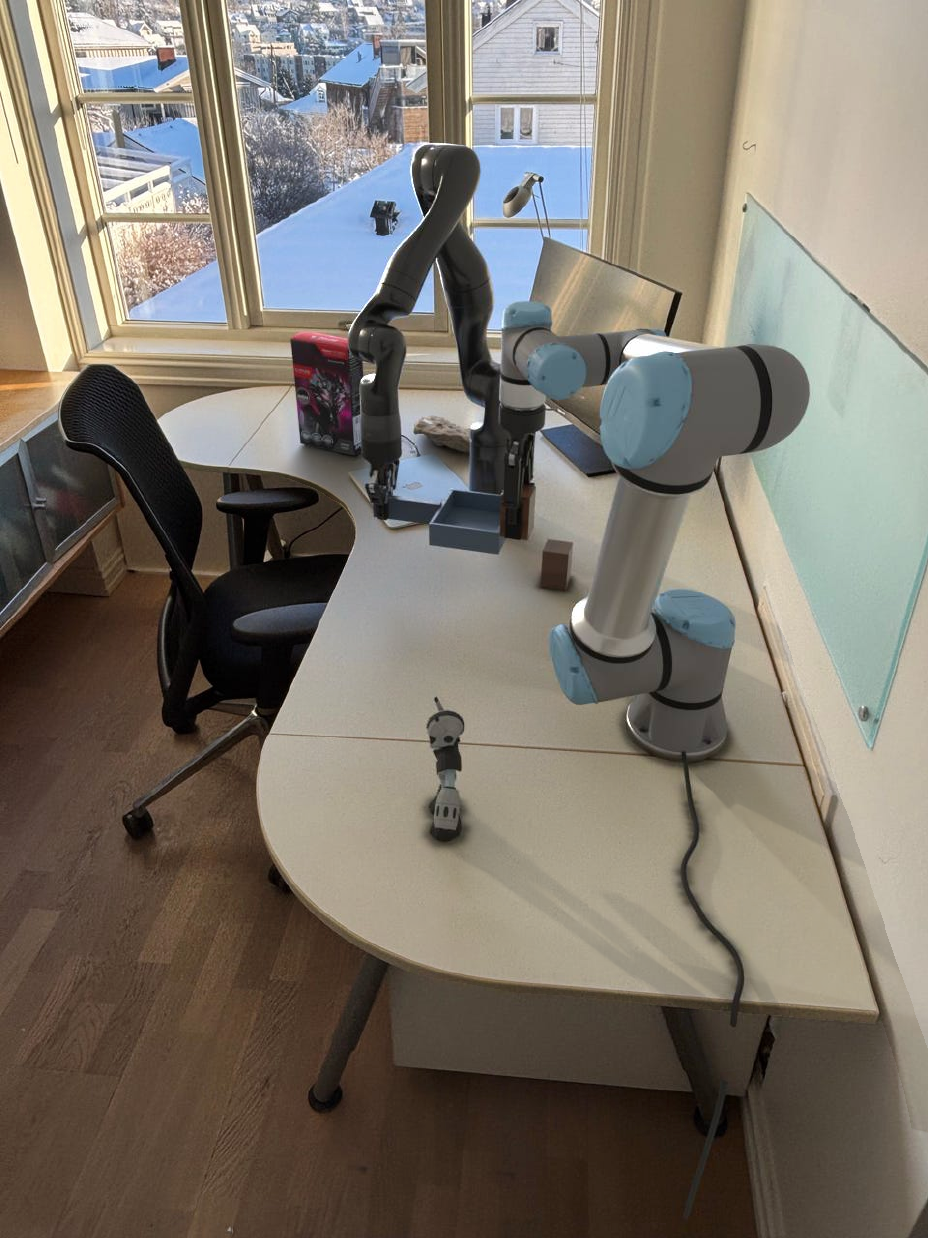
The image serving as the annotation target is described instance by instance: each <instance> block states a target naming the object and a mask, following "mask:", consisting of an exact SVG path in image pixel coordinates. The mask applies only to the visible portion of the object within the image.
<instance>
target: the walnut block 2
mask: <svg viewBox="0 0 928 1238" xmlns="http://www.w3.org/2000/svg"><path fill="white" fill-rule="evenodd" d="M573 549H574V542H573V541H567V540H566V541H565V540H559V539H551V538H547V540H546V541H545V544H544V547H543V549H542V553H541V554H542V555H541V570H540V571H541V572H540V584H539V585H540V588H545V589H550V590H557V591H558V590H559V591H564V592H565V591H566V592H567V589H568V586H569V583H570V579H571V575H572V574H571V573H572V561H573V551H574V550H573Z"/></svg>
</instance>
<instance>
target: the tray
mask: <svg viewBox="0 0 928 1238" xmlns="http://www.w3.org/2000/svg"><path fill="white" fill-rule="evenodd" d="M383 496H384V494H383ZM500 507H501V495H497V494H489V493H481V492H473V491H469V490H465V489H458V488H457V489H456V488H450V490H449V492H448V493H447V494H446V497H445V498H444V500H443V501H442V500H441V501H440V500H433V499H432V500H431V499H425V498H416V497H409V496H401V495H394V494H393V495H388V515H389V518H388V519H387V520H392V521H401V522H408V523H415V524H422V525H428V540H429V541H428V545H429V546H432V547H433V546H434V547H440V548H445V549H455V550H462V551H467V552H476V553H482V554H489V555H497V556H499V554H500V552H501V550H502V549H503V547H504V544H505V542H506V540H507V538H504V537H501V536H499V534H500ZM372 512H373V513H372V515H373V518H377V512H376V504H375V503H372Z"/></svg>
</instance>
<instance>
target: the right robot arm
mask: <svg viewBox="0 0 928 1238" xmlns="http://www.w3.org/2000/svg"><path fill="white" fill-rule="evenodd" d="M552 316H553V315H552V309H551V308H550V306H548V304H545V303H542V302H540V301H532V300H531V301H530V300H524V301H514V302H512V303H509V304H507V305H505V307H504V309H503V312H502V321H501V327H500V331H501V340H500V342H501V343H500V346H501V347H500V364H501V374H500V390H499V400H500V402H501V403H500V405H499V425H500V427H501V428H502V429H504V430H506V431H508V432H509V433H510V434H511V435H510V438H508V439H507V444H506V448H507V453H505V455H504V465H505V470H504V493H503V501H502V502H501V505H503V507H506V513H505V537H504V538H506V539H510V540H516V541H521V522H522V504H521V497H522V487H523V485H530V486H536V482H532V481H533V479H534V461H535V445H536V443H535V442H536V435H537V434H536V433H537V432H540V431H541V430H543V428H544V427H545V424H546V411H547V406H546V404H545V403H546V402H547V398H548V399H551V400H555V401H562V400H567V399H569V398H570V397H572V396H574V394H575V395H576V394H577V393H578V392H579V391H580V390H581V388H590V387H591V388H592V387H597V386H605V385H606V386H605V388H604V391H603V393H602V398H601V402H600V408H599V419H601V424H600V426H599V434H600V435H599V436H600V441H601V445H602V448H603V451H604V453H605V455H606V456H607V458H608V460H609V461H610V462H611V465H612V467H613V470H614V471H615V472H616V474H617V475H618V478H617V482H616V486H615V490H614V493H613V498H612V502H611V506H610V509H609V512H608V517H607V520H606V525H605V529H604V533H603V536H602V539H601V540H602V541H601V543H600V549H599V551H598V556H597V560H596V564H595V568H594V572H593V574H592V575H593V576H592V580H591V584H590V587H589V590H588V594H587V596H586V597H584V598H582V599H581V600H580V601H578V603H576V604H575V607H573V610H572V612H571V616H570V621H569V623H565V624H564V623H560V624H559V625H555V626H554V627H552V628H551V629H550V631H549V632H550V633H549V638H548V643H549V644H548V645H549V652H550V658H551V659H550V660H551V664H552V668H553V671H554V674H555V677H556V679H557V682H558V685H559V687H560V689H561V691H562V693H563V695H564V696H565V698H566V699H567V700H568V701H569V702H571V703H572V704H574V705H576V706H578V705H579V706H583V705H589V704H595V705H598V704H599V703H603V702H608V701H613V700H619V699H624V698H628V697H633V696H634V697H633V699H632V701H631V702H630V704H629V705H628V707H627V711H626V719H625V728H626V732H627V734H628V736H629V738H630V739H631V741H632V742H634V744H636V745H637V746H638V747H639V748H640V749H641V750H643V751H645V752H646V753H648V754H650V755H651V756H654V757H656V758H659V759H662V760H666V761H670V762H675V763H682V769H683V775H684V782H685V790H686V798H687V803H688V807H689V812H690V816H691V819H692V824H693V825H692V826H693V836H692V840H691V843H690V844H689V847H688V848H687V850H686V851H685V854H684V856H683V858H682V860H681V864H680V878H681V883H682V887H683V890H684V892H685V895H686V897H687V899H688V901H689V903H690V905H691V906H692V908H693V910H694V911H695V913H696V915H697V917H698V918H699V920H700V921H701V922H702V924H703V925H704V926H705V927H706V929H707V930H708V931H709V932H710V933H711V934H712V935H713V936H714V937H715V938H717V940H718V941H719V942H720V943H721V944H722V945H724V947H725V948H726V949H727V951H728V953H730V955H731V957H732V959H733V961H734V964H735V967H736V971H737V981H736V986H735V989H734V990H735V991H734V994H733V998H732V1003H731V1007H730V1018H729V1025H730V1027H731V1028H736V1027H737V1023H738V1014H739V1007H740V1002H741V998H742V993H743V989H744V985H745V970H744V966H743V962H742V959H741V958H740V955H739V954H738V952H737V950H736V948H735V947H734V946H733V945H732V943H731V942H730V941H729V940H728V939H727V938H726V936H724V935H723V934H722V933H721V931H720V930H718V929H717V928H716V927H715V925H713V924H712V923H711V922H710V920H709V919H708V918H707V917H706V915H705V914H704V912H703V910H702V908H701V907H700V905H699V904H698V902H697V900H696V898H695V897H694V894H693V892H692V891H691V888H690V886H689V882H688V875H687V868H688V862H689V860H690V858H691V857H692V855H693V853H694V851H695V850H696V847H697V845H698V843H699V838H700V824H699V820H698V815H697V812H696V807H695V804H694V798H693V792H692V784H691V777H690V770H689V763H694V762H700V761H703V760H706V759H709V758H711V757H714V755H716V754H718V752H720V751H721V750H722V748H723V747H724V744H725V743H726V740H727V739H726V738H727V734H728V721H727V716H726V712H725V708H724V707H725V706H724V701H723V692H724V686H725V682H726V678H727V672H728V668H729V663H730V658H731V654H732V651H733V650H732V649H733V647H734V645H735V642H736V641H735V637H736V636H735V635H736V617H735V616H734V614H733V612H732V611H731V609H730V608H729V607H728V606H727V605H726V604H725V603H723V602H722V601H720V600H719V599H717V598H715V597H713V596H711V595H709V594H706V593H703V592H701V591H697V590H692V589H686V588H673V589H667V590H664V591H663V592H661V593H660V594H659V591H660V588H661V585H662V582H663V580H664V576H665V573H666V570H667V567H668V564H669V561H670V558H671V555H672V553H673V549H674V546H675V543H676V540H677V538H678V534H679V531H680V528H681V526H682V522H683V520H684V517H685V514H686V510H687V508H688V505H689V501H690V499H691V496H692V495H693V494H695V493H699V492H700V491H702V490H703V489H704V488H705V487H707V486H708V484H709V483H710V480H712V479H711V478H712V476H713V474H714V470H715V468H716V465H717V462H718V460H719V459H720V458H721V457H729V456H736V455H742V454H751V453H756V452H760V451H764V450H767V449H769V448H772V447H774V446H776V445H777V444H779V443H781V442H782V441H784V440H785V439H786V438H788V437H789V436H790V435H792V433H793V432H794V431H795V430H796V429H797V428H798V426H799V425H800V424H801V422H802V420H803V419H804V418H805V415H806V412H807V410H808V406H809V403H810V396H811V388H810V387H811V386H810V381H809V378H808V373H807V371H806V368H805V367H804V366H803V364H802V362H801V361H800V360H799V359H798V358H797V356H795V355H794V354H792V353H791V352H789V351H788V350H786V349H783V348H781V347H778V346H776V345H775V346H774V345H769V344H755V343H746V344H741V345H737V346H725V347H721V346H716V345H711V344H706V343H705V344H704V343H700V342H694V341H689V340H684V339H678V338H673V337H669V336H668V335H667V334H666V332H665V331H664V330H662V329H659V328H636V329H632V330H623V331H622V330H621V331H612V332H601V333H600V332H598V333H584V334H572V335H562V336H561V335H560V336H559V335H557V334H556V333H554V332H553V331H552V326H553V320H552V319H553V318H552ZM658 594H659V595H658ZM720 1082H721V1083H720V1086H719V1091H718V1095H717V1100H716V1104H715V1107H714V1111H713V1116H712V1119H711V1121H710V1122H711V1123H710V1126H709V1128H708V1132H707V1136H706V1139H705V1143H704V1146H703V1149H702V1153H701V1156H700V1159H699V1162H698V1165H697V1167H696V1171H695V1173H694V1178H693V1181H692V1183H691V1187H690V1191H689V1193H688V1197H687V1200H686V1204H685V1206H684V1211H683V1214H682V1218H683V1220H685V1221H688V1220H689V1217H690V1214H691V1210H692V1206H693V1204H694V1200H695V1197H696V1193H697V1190H698V1187H699V1185H700V1181H701V1178H702V1176H703V1173H704V1169H705V1166H706V1164H707V1163H706V1162H707V1159H708V1157H709V1153H710V1151H711V1148H712V1144H713V1141H714V1138H715V1134H716V1131H717V1127H718V1125H719V1121H720V1117H721V1114H722V1110H723V1105H724V1102H725V1098H726V1097H725V1096H726V1093H727V1090H728V1086H729V1081H727V1080H725V1079H721V1081H720Z"/></svg>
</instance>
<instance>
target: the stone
mask: <svg viewBox="0 0 928 1238" xmlns="http://www.w3.org/2000/svg"><path fill="white" fill-rule="evenodd" d="M413 427H414V428H413V430H412V431H413V434H414V435H416V436H417V435H424V436H426V438H427V439H428V440H431V441H433V442H434V443H435V445H436V446H440V447H443V446H446V447H448V448H450V449H453V450H457V451H459V452H464V453H470V427H463V426H460V425H457V424H456V423H452V422H451V421H450V420H447V419H445V418H444V417H442V416H436V415H429V416H422V417H420V418H419V419H418V420H417V421H415V422H414V424H413Z"/></svg>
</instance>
